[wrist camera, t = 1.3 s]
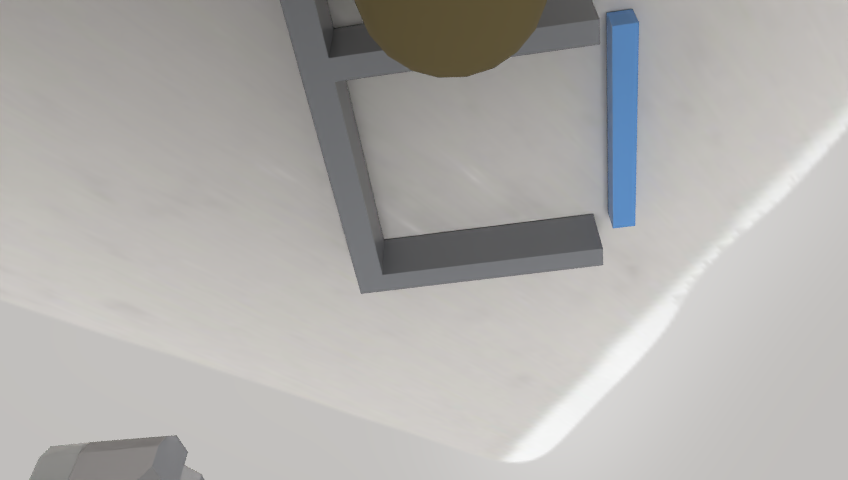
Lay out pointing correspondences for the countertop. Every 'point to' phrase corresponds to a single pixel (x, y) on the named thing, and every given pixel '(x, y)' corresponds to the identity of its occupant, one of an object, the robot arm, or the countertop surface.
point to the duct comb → (475, 248)
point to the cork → (450, 32)
